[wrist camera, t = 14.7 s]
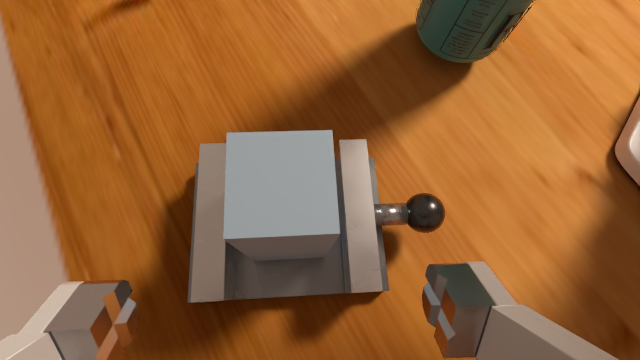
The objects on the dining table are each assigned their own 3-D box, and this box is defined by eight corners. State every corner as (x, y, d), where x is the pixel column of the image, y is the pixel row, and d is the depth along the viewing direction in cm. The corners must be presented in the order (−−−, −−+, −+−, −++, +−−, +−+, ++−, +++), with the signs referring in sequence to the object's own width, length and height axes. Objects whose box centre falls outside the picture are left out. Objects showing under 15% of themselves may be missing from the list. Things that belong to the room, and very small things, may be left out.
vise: (201, 170, 22) (180, 144, 18) (370, 164, 23) (384, 138, 19) (194, 301, 19) (168, 303, 16) (384, 290, 20) (403, 289, 16)
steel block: (254, 192, 20) (226, 132, 13) (320, 190, 21) (332, 129, 13) (253, 260, 19) (223, 239, 12) (324, 257, 19) (340, 233, 12)
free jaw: (334, 157, 21) (339, 139, 19) (424, 155, 22) (440, 137, 19) (345, 293, 19) (351, 293, 16) (446, 287, 19) (467, 286, 17)
